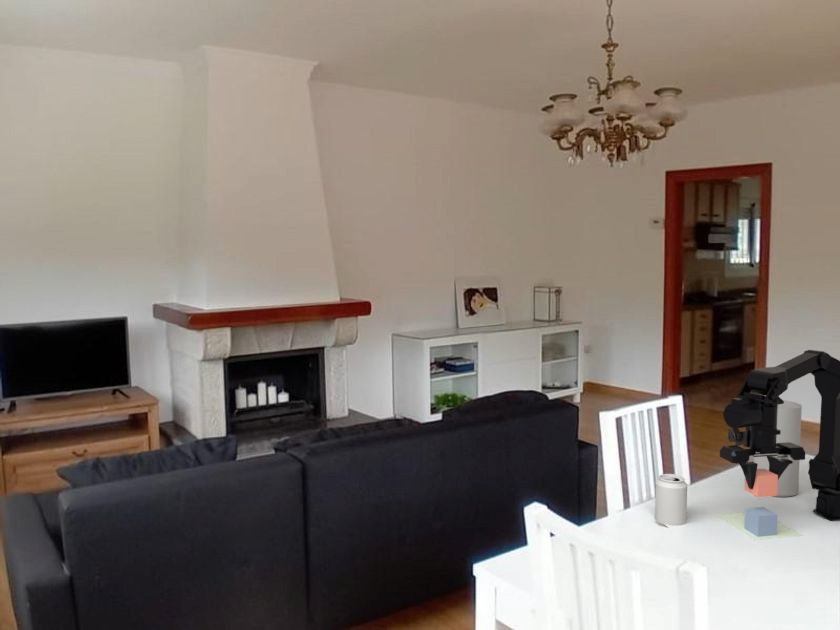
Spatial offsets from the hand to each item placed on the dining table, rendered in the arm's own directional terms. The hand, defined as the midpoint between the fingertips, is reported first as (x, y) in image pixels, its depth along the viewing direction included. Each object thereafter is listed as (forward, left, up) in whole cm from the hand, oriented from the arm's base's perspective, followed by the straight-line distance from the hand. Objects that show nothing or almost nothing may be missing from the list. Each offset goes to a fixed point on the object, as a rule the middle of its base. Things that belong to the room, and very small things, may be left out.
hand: (760, 488), depth 166 cm
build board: (-2, -4, -12) cm, 12 cm away
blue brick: (0, 0, -11) cm, 11 cm away
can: (+17, -11, -12) cm, 23 cm away
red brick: (0, 0, -1) cm, 1 cm away
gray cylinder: (-24, -28, -12) cm, 38 cm away
